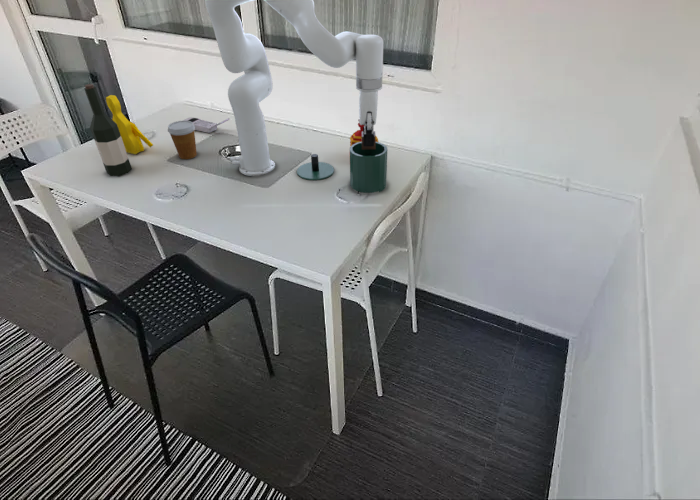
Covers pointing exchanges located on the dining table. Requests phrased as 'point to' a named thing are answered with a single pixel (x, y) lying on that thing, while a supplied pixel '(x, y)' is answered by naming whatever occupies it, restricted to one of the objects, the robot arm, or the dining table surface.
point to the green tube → (368, 168)
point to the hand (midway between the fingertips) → (368, 141)
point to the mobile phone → (204, 124)
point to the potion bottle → (358, 135)
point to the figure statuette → (126, 128)
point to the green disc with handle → (315, 169)
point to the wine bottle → (107, 137)
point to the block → (368, 146)
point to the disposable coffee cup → (183, 138)
